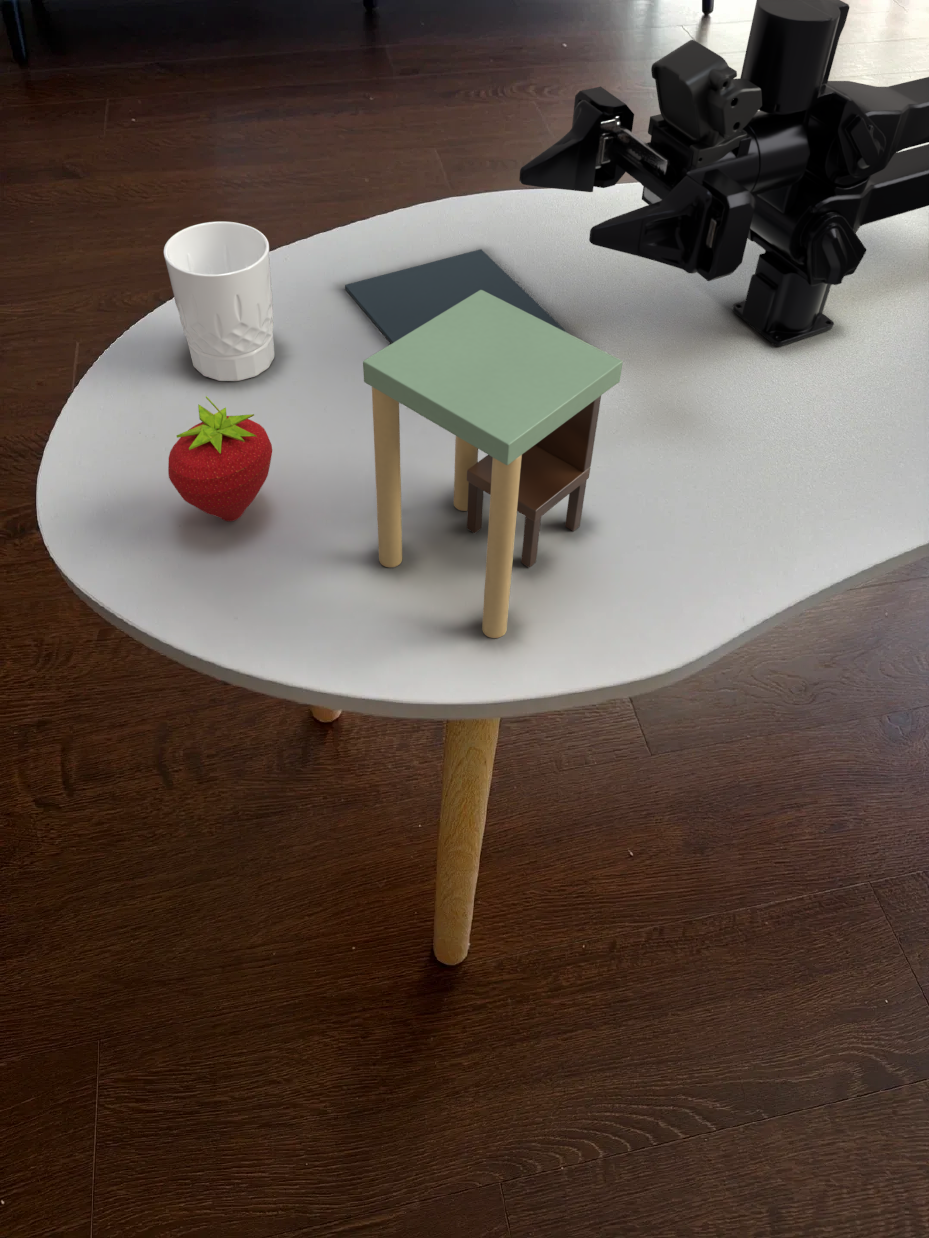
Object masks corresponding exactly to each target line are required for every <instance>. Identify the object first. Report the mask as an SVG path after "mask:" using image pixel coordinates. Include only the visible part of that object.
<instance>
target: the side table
mask: <svg viewBox="0 0 929 1238" xmlns="http://www.w3.org/2000/svg"><path fill="white" fill-rule="evenodd" d="M566 332H567V331H566ZM566 332H564V331H562V330H560V329H558V328H556V327H554V326H552V325H550V324H549V323H547V322H545V321H543V320H541V319H539V318H537V317H535V316H533V315H531V314H529V313H527V312H525V311H523V310H521V309H519V308H517V307H515V306H513V305H511V304H509V303H507V302H505V301H503V300H501V299H499V298H497V297H495V296H493V295H491V294H489V293H487V292H485V291H483V290H479V291H478V292H476V293H474V294H473V295H471V296H470V297H468V298H466V299H465V300H463V301H461V302H460V303H458V304H456V305H455V306H453V307H451V308H450V309H448V310H446V311H445V312H443V313H441V314H440V315H438V316H437V317H435V318H433V319H432V320H430V321H428V322H427V323H425V324H423V325H422V326H420V327H418V328H417V329H415V330H413V331H412V332H410V333H409V334H407V335H405V336H404V337H402V338H400V339H399V340H397V341H395V342H394V343H392V344H391V343H390V344H388V345H387V346H385V347H384V348H382V349H381V350H379V351H377V352H375V353H374V354H372V355H370V356H369V357H367V358H366V359H364V360H362V370H363V371H362V373H363V382H364V383H365V384H367V385H369V386H370V387H371V400H372V402H371V403H372V404H371V405H372V421H373V422H372V424H373V425H372V426H373V448H374V449H373V450H374V472H375V473H374V474H375V494H376V497H375V498H376V517H377V518H376V519H377V539H378V540H377V542H378V561H379V563H380V565H382V566H383V567H384V568H385V567H386V568H396V567H398V566H399V565H401V563H402V561H403V527H402V526H403V525H402V522H403V521H402V476H401V474H402V473H401V471H402V470H401V431H400V430H401V423H400V422H401V421H400V404H401V405H402V406H405V407H406V408H407V409H409V410H411V411H413V412H414V413H416V414H418V415H420V416H421V417H423V418H425V419H426V420H428V421H430V422H431V423H433V424H435V425H436V426H439V427H440V428H442V429H444V430H445V431H447V432H449V433H450V434H452V435H454V436H455V439H454V440H455V442H454V445H455V446H454V473H453V474H454V477H453V478H454V480H453V506H454V507H455V509H457V510H458V511H460V512H467V508H468V484H469V482H468V481H467V470H468V469H469V468H471V467H472V466H473V465H475V464H476V463H477V462H479V450H480V451H481V452H483V453H485V454H486V455H490V456H491V457H493V461H492V477H491V493H490V494H489V512H488V528H487V541H486V543H487V544H486V560H485V577H484V590H483V591H484V592H483V606H482V607H483V608H482V623H481V627H482V628H481V630H482V632H483V634H484V635H485V636H486V637H488V638H491V639H499V638H502V637H503V636H504V635H505V634H507V631H508V630H507V629H508V619H509V618H508V617H509V606H510V594H511V582H512V571H513V560H514V548H515V537H516V527H517V517H518V516H517V515H518V514H517V513H518V511H517V504H518V493H519V481H520V470H521V458H522V454H523V453H525V452H526V451H527V450H529V449H530V448H531V447H533V446H534V445H535V444H537V443H538V442H539V441H541V440H542V439H543V438H545V437H546V436H547V435H549V434H550V433H551V432H553V431H554V430H555V429H557V428H558V427H559V426H561V425H562V424H563V423H565V422H566V421H568V420H569V419H570V418H572V417H573V416H574V415H576V414H577V413H578V412H580V411H581V410H582V409H584V408H585V407H586V406H588V405H589V404H590V403H592V402H593V401H594V400H596V399H597V398H598V397H600V396H601V397H602V395H604V394H605V393H606V392H608V391H609V390H611V389H612V388H613V387H615V386H616V385H617V384H619V383H620V381H621V377H622V369H623V363H624V361H623V360H622V359H620V358H618V357H616V356H614V355H612V354H610V353H608V352H606V351H605V350H603V349H600V348H598V347H596V346H594V345H592V344H591V343H588V342H586V341H584V340H582V339H580V338H578V337H576V336H574V335H573V334H571V333H568V332H567V333H566Z"/></svg>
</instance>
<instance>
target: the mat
mask: <svg viewBox="0 0 929 1238" xmlns="http://www.w3.org/2000/svg"><path fill="white" fill-rule="evenodd" d="M344 290H345V291H346V292H347V293H348V294H349V295H350V297H351V298H352V299H353V300H354V301H355V302H356V304H357V305H358V306H359V307H360V309H362V310H363V312H364V313H365V314H366V316H368V317H369V319H370V320H371V321H372V322H373V324H375V326H376V327H377V328H378V329H379V331H380V332H381V333H382V334H383V336H385V338H386V339H387V340H388V341H389V343H390V344H392V343H394V342H395V341H397V340H399V339H400V338H402V337H404V336H405V335H407V334H409V333H410V332H412V331H413V330H415V329H417V328H418V327H420V326H422V325H423V324H425V323H427V322H428V321H430V320H432V319H433V318H435V317H437V316H438V315H440V314H441V313H443V312H445V311H446V310H448V309H450V308H451V307H453V306H455V305H456V304H458V303H460V302H461V301H463V300H465V299H466V298H468V297H470V296H471V295H473V294H474V293H476V292H478V291H479V290H483V291H485V292H487V293H489V294H491V295H493V296H495V297H497V298H499V299H501V300H503V301H505V302H507V303H509V304H511V305H513V306H515V307H517V308H519V309H521V310H523V311H525V312H527V313H529V314H531V315H533V316H535V317H537V318H539V319H541V320H543V321H545V322H547V323H549V324H550V325H552V326H554V327H556V328H558V329H560V330H562V331H564V332H566V333H568V331H567V330H565V328H564V327H562V326H561V325H560V324H559V323H558V322H557V321H556V320H555V319H554V318H553V316H551V315H550V314H549V313H548V312H547V311H546V310H545V309H544V308H543V307H542V306H541V305H539V303H538V302H536V300H535V299H533V298H532V297H531V295H529V294H528V293H527V291H525V290H524V288H522V287H521V286H520V285H519V284H518V283H517V282H516V281H515V280H514V279H513V278H512V277H511V276H510V275H509V274H508V273H506V272H505V271H504V270H503V268H501V267H500V266H499V265H498V263H496V262H495V260H493V259H492V258H491V257H490V256H489V255H488V254H487V253H486V252H485V251H483V249H481V248H479V249H476V250H473V251H468V252H465V253H461V254H458V255H453V256H450V257H446V258H441V259H439V260H435V261H430V262H427V263H423V264H419V265H415V266H412V267H409V268H408V267H407V268H403V269H400V270H396V271H393V272H388V273H384V274H382V275H377V276H372V277H370V278H366V279H363V280H359V281H358V280H357V281H354V282H351V283H347V284H344Z"/></svg>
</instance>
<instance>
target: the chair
mask: <svg viewBox="0 0 929 1238" xmlns="http://www.w3.org/2000/svg"><path fill="white" fill-rule="evenodd" d="M601 400H602V395H601V396H600V397H598V398H597V399H596V400H594V401H593V402H592V403H590V404H589V405H588V406H586V407H585V408H584V409H582V410H581V411H580V412H578V413H577V414H576V415H574V416H573V417H572V418H570V419H569V420H568V421H566V422H565V423H563V424H562V425H561V426H559V427H558V428H557V429H555V430H554V431H553V432H551V433H550V434H549V435H547V436H546V437H545V438H543V439H542V440H541V441H539V442H538V443H537V444H535V445H534V446H533V447H531V448H530V449H529V450H527V451H526V452H525V453H523V454H522V458H521V470H520V481H519V493H518V504H517V513H520V515H522V516H524V527H523V538H522V547H521V559H520V563H521V564H523V565H524V566H525V567H527V568H532V567H533V565H535V564H536V563H537V559H538V550H539V541H540V531H541V521H542V516H544V515H545V514H546V513H548V512H549V511H550V510H551V509H552V508H554V507H555V506H556V505H557V504H559V503H560V502H561V501H562V500H564V499H565V498H566V497H567V496H568V501H567V509H566V514H565V515H566V517H565V524H564V526H565V527H566V528H567V529H569V530H571V531H572V532H574V531H576V530H577V529H578V528H580V526H581V520H582V515H583V508H584V501H585V495H586V487H587V482H588V479H589V478H590V474H591V467H592V460H593V454H594V446H595V441H596V433H597V427H598V421H599V414H600V407H601ZM492 461H493V457H491V456H490V455H488V454H486V455H485V456H484V457H482V459H480V460H478V462H477V463H476V464H475V465H473V466H472V467H471V468H469V469H468V470H467V481H468V482H469V484H468V508H467V511H466V513H467V514H466V529H467V530H468V531H470V532H472V533H473V534H477V532H479V531H480V530H481V529H482V528H483V527H482V526H483V510H484V509H483V508H484V493H486V494H488V495H490V493H491V477H492Z"/></svg>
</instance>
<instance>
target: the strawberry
mask: <svg viewBox="0 0 929 1238" xmlns="http://www.w3.org/2000/svg"><path fill="white" fill-rule="evenodd" d="M205 398H206V400H207V401H208V402H209V403H210V404H211V405H212V406H213V407H214V409H216V410H217V411H216V412H215V413H212V412H211V411H210V410H208V409H206V408H205V407H204V406H202V405H201V404H198V405H197V409H198V418H199V420H200V421H201V422H199V423H197V424H195V425H193V426H192V427H190V428H189V429H188V430H185V431H183V432H180V433H179V434H176V438H177V439H178V440H177V441H176V442H175V443H174V445H173V446H172V448H171V449H170V452H169V455H168V462H167V463H168V467H167V468H168V469H167V473H168V479H169V481H170V482H171V484H172V485H173V487H174V488H175V490H176V491H177V493H178V494H179V495H180V497H181V499H182V500H184V502H185V503H187V504H189V505H191V506H193V507H195V508H196V509H198V510H200V511H202V512H204V513H206V514H208V515H211V516H214V517H217V518H219V519H221V520H223V521H225V522H234V521H237V520H238V519H239V518H241V517H242V515H244V513H245V511H246V510H247V509H248V508H249V506H250V505H251V504H252V503H253V501H254V500H255V499H256V497H257V495H258V494H259V492H260V490H261V489H262V487H263V486H264V484H265V482H266V481H267V478H268V476H269V472H270V467H271V466H270V465H271V461H272V457H273V445H272V442H271V440H270V437H269V434H268V432H267V431H266V429H265V428H264V426H262V425H261V424H260V423H258V422H257V421H255V420H252V419H251V418H253V417H254V416H255V414H254V413H249V414H240V415H238V414H237V415H228V414H227V407H224V408H222V409H219V408H218V407H217V405H216V404H215V403H214V402H213V401H212V400H211V399H210V398H209V397H208V396H207V395H206V396H205Z"/></svg>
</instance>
